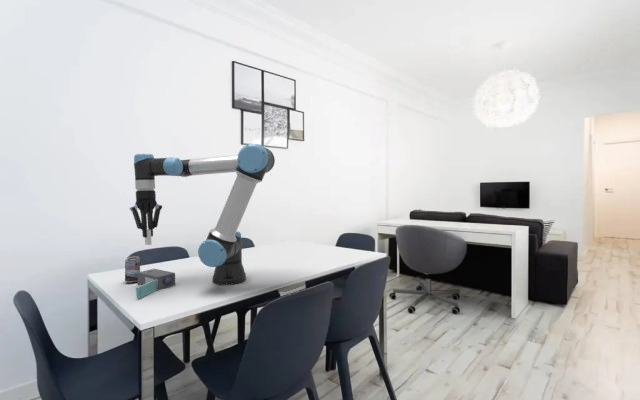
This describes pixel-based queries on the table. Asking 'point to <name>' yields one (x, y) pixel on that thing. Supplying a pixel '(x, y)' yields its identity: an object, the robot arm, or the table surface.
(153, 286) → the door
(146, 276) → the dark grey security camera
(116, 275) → the table surface
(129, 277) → the beverage can
